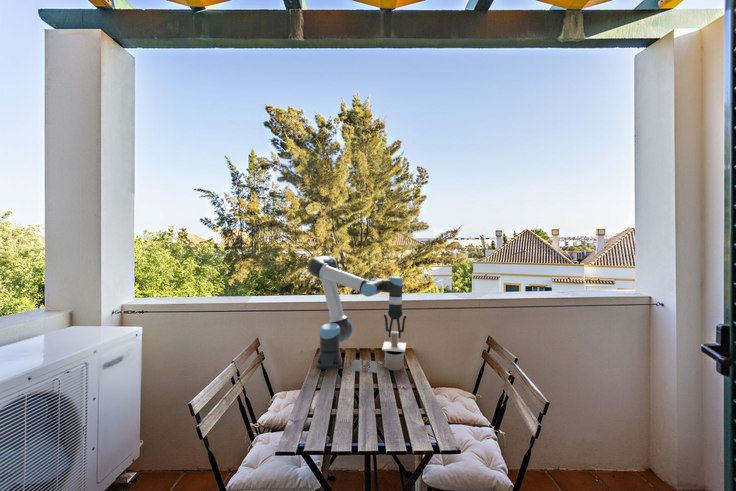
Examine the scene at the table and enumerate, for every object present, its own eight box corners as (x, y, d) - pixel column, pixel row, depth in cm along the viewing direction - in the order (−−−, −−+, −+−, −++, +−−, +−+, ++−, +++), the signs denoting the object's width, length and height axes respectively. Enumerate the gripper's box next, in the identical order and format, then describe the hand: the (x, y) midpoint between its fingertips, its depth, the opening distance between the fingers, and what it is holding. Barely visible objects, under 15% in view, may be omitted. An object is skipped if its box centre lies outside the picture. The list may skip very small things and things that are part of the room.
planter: (407, 368, 216) (407, 352, 215) (392, 372, 210) (392, 356, 209) (395, 362, 225) (395, 347, 224) (381, 366, 219) (381, 350, 218)
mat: (349, 371, 210) (349, 370, 210) (354, 360, 227) (354, 359, 227) (379, 373, 208) (379, 372, 208) (382, 362, 225) (382, 361, 225)
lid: (382, 350, 211) (382, 334, 210) (384, 343, 224) (384, 328, 223) (405, 351, 209) (405, 336, 208) (406, 344, 222) (406, 329, 221)
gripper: (380, 304, 212) (380, 344, 214) (409, 305, 210) (408, 346, 211) (382, 301, 220) (381, 340, 221) (409, 302, 217) (408, 342, 219)
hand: (394, 343), depth 216 cm, fingers closed on lid, 3 cm apart
